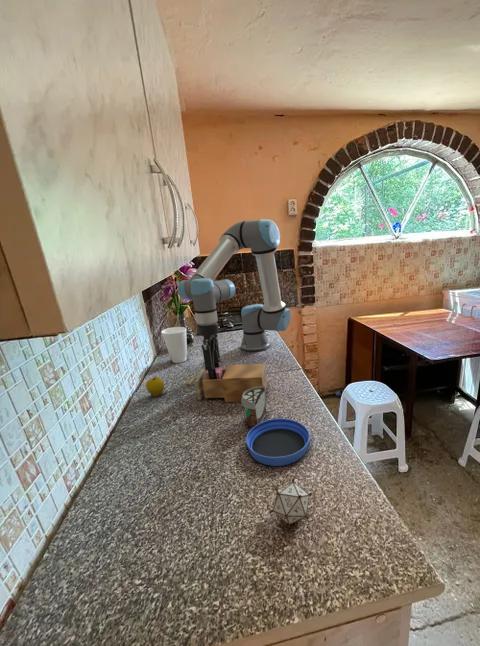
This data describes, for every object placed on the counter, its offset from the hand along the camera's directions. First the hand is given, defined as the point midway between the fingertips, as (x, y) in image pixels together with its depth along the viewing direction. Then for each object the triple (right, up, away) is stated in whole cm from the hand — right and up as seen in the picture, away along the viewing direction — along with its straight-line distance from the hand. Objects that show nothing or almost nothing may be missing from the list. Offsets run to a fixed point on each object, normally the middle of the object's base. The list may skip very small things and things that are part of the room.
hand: (215, 381), depth 119 cm
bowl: (+25, -16, -30) cm, 42 cm away
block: (0, 0, 0) cm, 0 cm away
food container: (+16, -11, -16) cm, 26 cm away
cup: (-27, +7, +39) cm, 48 cm away
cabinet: (+12, -5, +2) cm, 13 cm away
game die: (+29, -24, -52) cm, 64 cm away
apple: (-24, -6, +4) cm, 25 cm away
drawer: (-1, -4, +2) cm, 5 cm away
